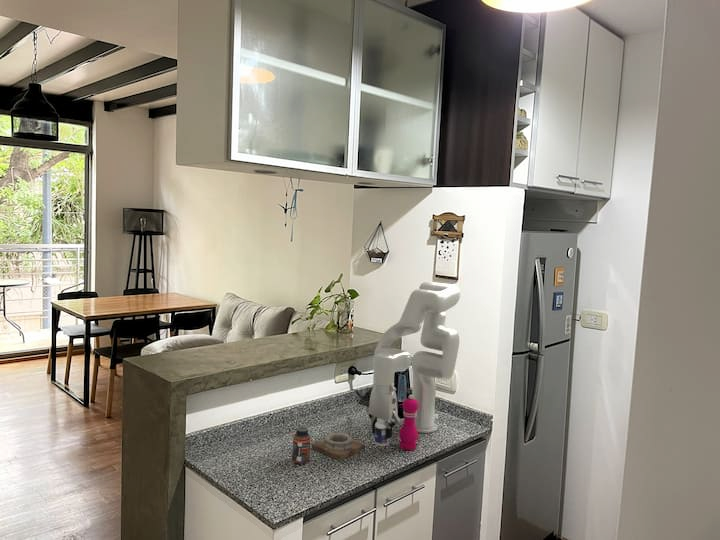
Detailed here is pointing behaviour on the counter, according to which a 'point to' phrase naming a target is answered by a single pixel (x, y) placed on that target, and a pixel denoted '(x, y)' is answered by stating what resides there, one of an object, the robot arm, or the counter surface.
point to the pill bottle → (381, 432)
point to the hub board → (338, 452)
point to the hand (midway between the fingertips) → (382, 434)
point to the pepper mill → (409, 424)
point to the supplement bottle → (301, 446)
